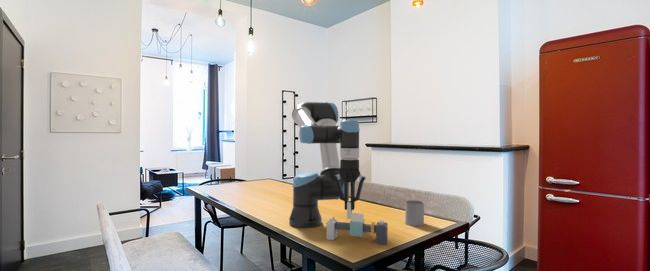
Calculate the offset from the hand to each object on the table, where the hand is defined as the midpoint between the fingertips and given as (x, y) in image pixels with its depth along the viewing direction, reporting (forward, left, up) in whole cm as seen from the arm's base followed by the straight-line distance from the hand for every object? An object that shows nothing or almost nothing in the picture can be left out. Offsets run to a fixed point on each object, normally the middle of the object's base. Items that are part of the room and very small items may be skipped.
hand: (349, 217), depth 127 cm
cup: (+25, +30, -9) cm, 40 cm away
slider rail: (+3, 0, -9) cm, 9 cm away
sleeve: (+3, 0, -6) cm, 7 cm away
